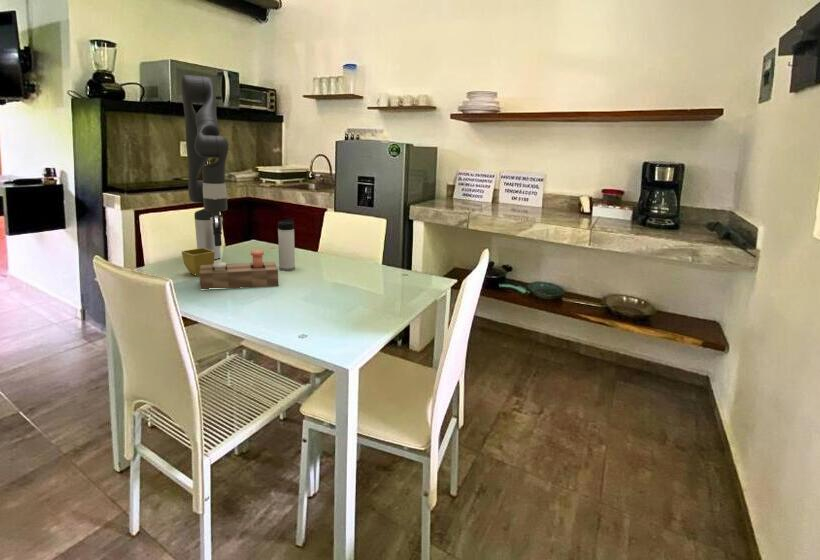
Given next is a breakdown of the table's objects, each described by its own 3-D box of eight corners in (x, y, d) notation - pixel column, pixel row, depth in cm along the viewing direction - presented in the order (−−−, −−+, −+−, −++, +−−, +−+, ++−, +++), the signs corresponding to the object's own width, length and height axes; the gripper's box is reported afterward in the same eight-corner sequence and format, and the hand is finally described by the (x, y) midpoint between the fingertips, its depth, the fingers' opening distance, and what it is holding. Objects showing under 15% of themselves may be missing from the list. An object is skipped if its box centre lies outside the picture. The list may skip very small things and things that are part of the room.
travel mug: (297, 267, 201) (296, 219, 195) (291, 271, 194) (290, 222, 189) (282, 266, 201) (281, 218, 196) (276, 270, 195) (275, 221, 189)
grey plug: (214, 281, 175) (212, 262, 173) (227, 280, 176) (226, 261, 174) (214, 285, 171) (212, 265, 169) (227, 284, 172) (226, 264, 170)
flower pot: (195, 278, 179) (193, 254, 177) (182, 273, 184) (180, 250, 182) (216, 274, 186) (215, 251, 184) (204, 269, 191) (202, 247, 189)
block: (201, 280, 177) (200, 265, 175) (275, 276, 186) (274, 261, 184) (200, 290, 166) (199, 273, 164) (278, 285, 175) (277, 269, 173)
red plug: (251, 269, 178) (250, 250, 176) (263, 268, 180) (263, 249, 178) (252, 272, 174) (251, 252, 172) (264, 271, 176) (264, 252, 174)
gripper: (203, 193, 169) (207, 241, 174) (202, 198, 158) (206, 250, 163) (226, 193, 172) (229, 241, 177) (227, 199, 160) (230, 249, 165)
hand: (218, 245), depth 170 cm, fingers closed
